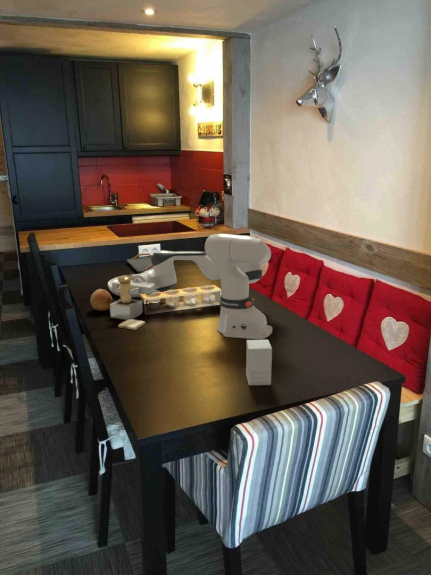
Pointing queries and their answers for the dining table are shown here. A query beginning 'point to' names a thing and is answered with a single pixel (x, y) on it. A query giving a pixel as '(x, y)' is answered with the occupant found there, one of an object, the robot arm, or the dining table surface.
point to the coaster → (131, 324)
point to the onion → (101, 300)
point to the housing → (126, 309)
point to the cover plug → (125, 289)
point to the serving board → (141, 263)
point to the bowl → (118, 292)
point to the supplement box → (258, 362)
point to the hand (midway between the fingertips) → (124, 291)
